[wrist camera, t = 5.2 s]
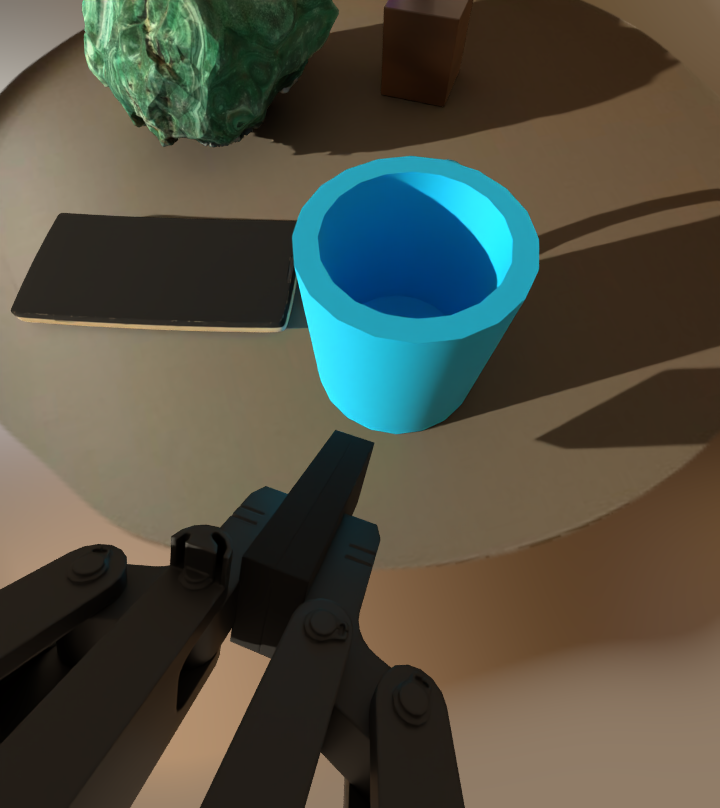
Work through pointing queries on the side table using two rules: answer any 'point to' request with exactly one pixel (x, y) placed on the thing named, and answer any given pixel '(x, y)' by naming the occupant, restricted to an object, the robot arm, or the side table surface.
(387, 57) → the walnut block
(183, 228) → the smartphone
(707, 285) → the side table surface
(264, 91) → the mineral
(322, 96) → the side table surface
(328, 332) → the mug
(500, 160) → the side table surface
